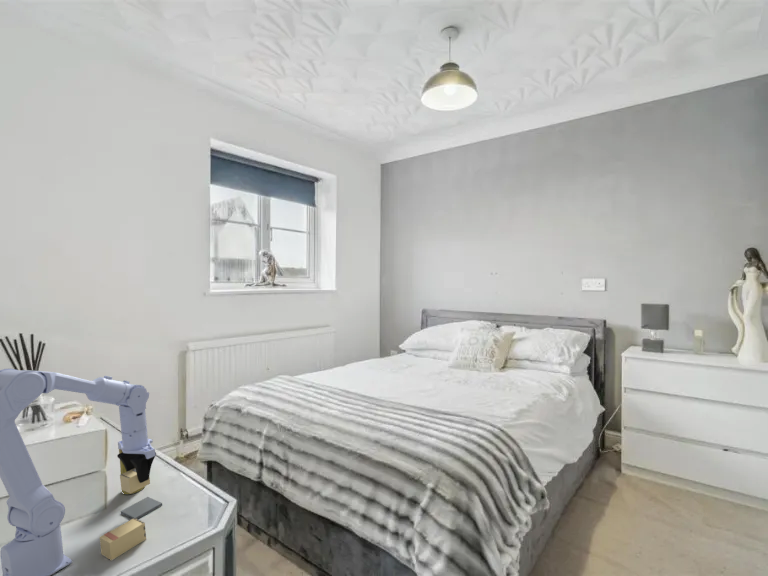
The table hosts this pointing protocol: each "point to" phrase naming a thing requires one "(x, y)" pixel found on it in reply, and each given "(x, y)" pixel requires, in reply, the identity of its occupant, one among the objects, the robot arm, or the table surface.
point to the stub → (131, 481)
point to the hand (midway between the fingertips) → (139, 478)
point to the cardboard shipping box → (122, 538)
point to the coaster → (141, 508)
